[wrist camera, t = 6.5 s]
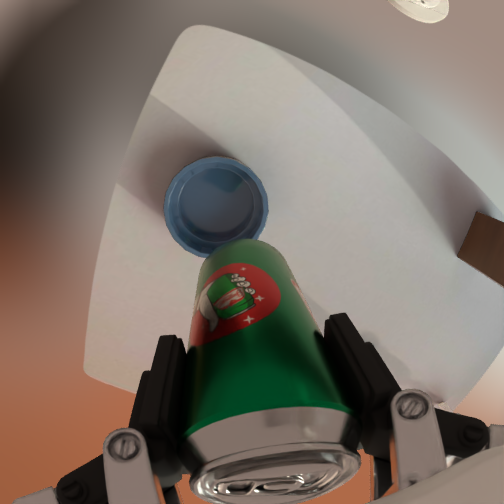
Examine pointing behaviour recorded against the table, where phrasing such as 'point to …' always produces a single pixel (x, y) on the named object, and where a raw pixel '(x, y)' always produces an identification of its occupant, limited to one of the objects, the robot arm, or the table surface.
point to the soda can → (261, 387)
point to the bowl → (214, 204)
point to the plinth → (485, 247)
